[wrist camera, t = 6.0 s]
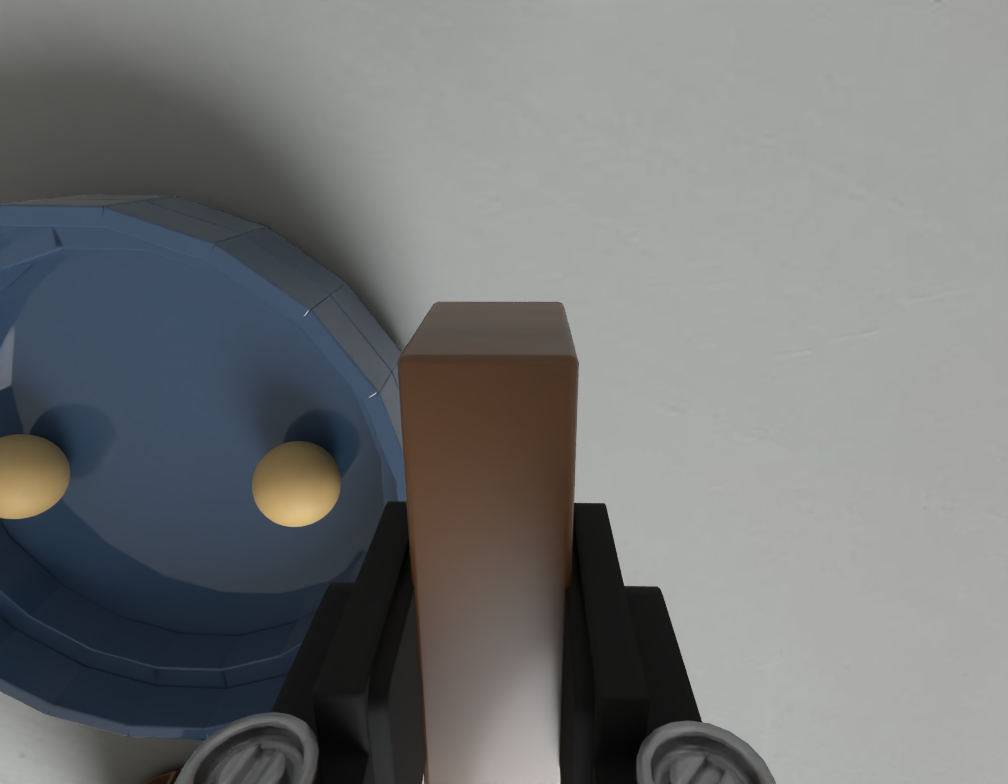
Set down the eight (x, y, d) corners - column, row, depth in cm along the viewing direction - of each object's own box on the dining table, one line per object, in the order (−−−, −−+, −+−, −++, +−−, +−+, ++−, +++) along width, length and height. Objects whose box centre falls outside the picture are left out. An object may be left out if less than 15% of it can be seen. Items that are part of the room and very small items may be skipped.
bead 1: (-1, 420, 24) (-70, 456, 21) (79, 422, 24) (19, 458, 21) (19, 491, 25) (-45, 534, 22) (96, 493, 25) (41, 536, 22)
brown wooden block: (432, 300, 10) (395, 356, 7) (564, 300, 10) (580, 356, 7) (452, 747, 13) (431, 912, 10) (552, 749, 13) (560, 916, 10)
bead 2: (266, 426, 24) (231, 463, 21) (347, 428, 24) (323, 466, 21) (275, 498, 25) (243, 542, 22) (353, 500, 25) (331, 545, 22)
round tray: (-141, 189, 22) (-300, 199, 18) (427, 197, 21) (403, 210, 17) (7, 644, 29) (-82, 730, 24) (441, 658, 28) (425, 748, 24)
